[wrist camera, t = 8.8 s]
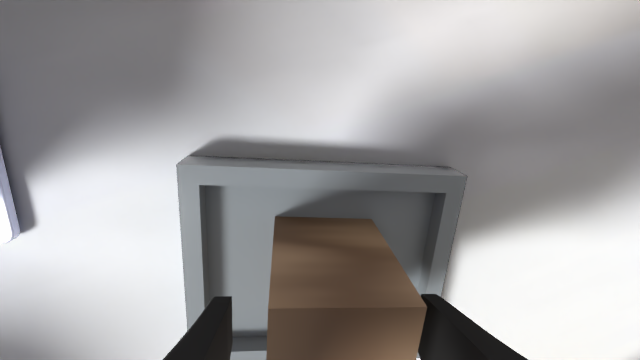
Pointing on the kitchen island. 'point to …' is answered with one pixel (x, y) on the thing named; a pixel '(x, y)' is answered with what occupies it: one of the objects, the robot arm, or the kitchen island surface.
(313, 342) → the walnut block
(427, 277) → the grey tray
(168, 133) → the kitchen island surface
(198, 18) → the kitchen island surface
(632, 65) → the kitchen island surface
